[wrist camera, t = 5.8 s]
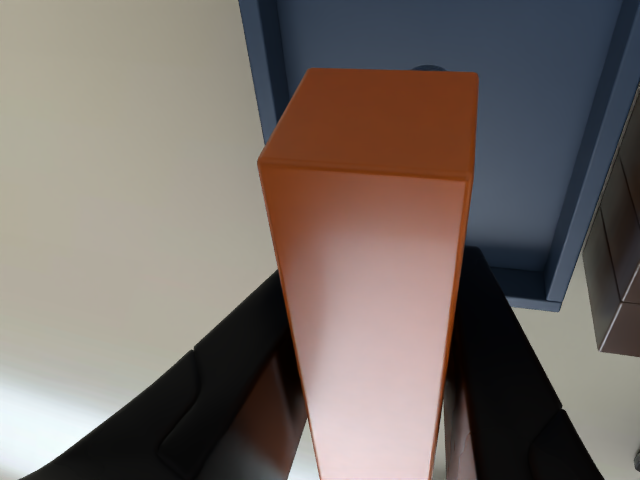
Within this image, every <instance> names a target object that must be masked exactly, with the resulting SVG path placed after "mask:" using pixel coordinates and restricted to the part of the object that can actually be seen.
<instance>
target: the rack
mask: <svg viewBox="0 0 640 480" xmlns="http://www.w3.org/2000/svg"><path fill="white" fill-rule="evenodd" d="M600 205H601V206H600V207H599V210H598V213H597V216H596V218H595V221H594V224H593V227H592V230H591V233H590V235H589V238H588V241H587V244H586V247H585V249H584V252H583V255H582V256H583V262H584V268H585V274H586V280H587V287H588V293H589V299H590V305H591V311H592V317H593V324H594V330H595V336H596V342H597V348H598V351H600V352H606V353H613V354H620V355H628V356H635V357H640V93H639V96H638V99H637V102H636V105H635V107H634V110H633V113H632V116H631V119H630V122H629V124H628V127H627V130H626V133H625V136H624V138H623V141H622V144H621V147H620V150H619V154H618V156H617V159H616V162H615V164H614V167H613V170H612V173H611V176H610V179H609V181H608V184H607V187H606V190H605V193H604V195H603V198H602V201H601V204H600Z"/></svg>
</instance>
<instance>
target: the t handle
mask: <svg viewBox="0 0 640 480" xmlns="http://www.w3.org/2000/svg"><path fill="white" fill-rule="evenodd" d="M478 89H479V77H478V74H477V73H474V72H455V71H447V70H445V69H443V68H441V67H439V66H435V65H422V66H418V67H415V68H413V69H411V70H380V69H342V68H310V69H308V70H307V71H306V73H305V75H304V76H303V78H302V80H301V82H300V84H299V85H298V87H297V89H296V91H295V93H294V94H293V96H292V98H291V100H290V102H289V103H288V105H287V107H286V109H285V111H284V112H283V114H282V116H281V118H280V120H279V122H278V123H277V125H276V127H275V129H274V131H273V132H272V134H271V136H270V138H269V140H268V141H267V143H266V145H265V147H264V149H263V150H262V152H261V154H260V156H259V158H258V161H257V166H258V171H259V176H260V181H261V186H262V191H263V196H264V201H265V206H266V211H267V216H268V221H269V226H270V231H271V236H272V241H273V246H274V251H275V256H276V261H277V266H278V271H279V276H280V281H281V286H282V291H283V296H284V301H285V306H286V311H287V316H288V321H289V326H290V331H291V336H292V342H293V347H294V352H295V357H296V362H297V367H298V372H299V377H300V382H301V387H302V392H303V397H304V402H305V407H306V412H307V417H308V422H309V427H310V432H311V437H312V442H313V447H314V452H315V457H316V462H317V467H318V472H319V477H320V480H432V476H433V469H434V461H435V454H436V447H437V440H438V433H439V425H440V418H441V411H442V404H443V396H444V389H445V382H446V375H447V368H448V360H449V353H450V346H451V339H452V332H453V324H454V317H455V310H456V303H457V296H458V288H459V281H460V274H461V267H462V260H463V252H464V245H465V238H466V231H467V224H468V216H469V209H470V202H471V195H472V187H473V180H474V166H475V146H476V127H477V108H478Z"/></svg>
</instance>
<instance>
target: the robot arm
mask: <svg viewBox="0 0 640 480" xmlns="http://www.w3.org/2000/svg"><path fill="white" fill-rule="evenodd" d="M443 400H444V426H445V452H446V478H447V480H605V479H604V478H603V476H602V475H601V473H600V472H599V470H598V469H597V467H596V465H595V464H594V462H593V460H592V458H591V457H590V455H589V453H588V451H587V450H586V448H585V446H584V444H583V442H582V441H581V439H580V437H579V435H578V434H577V432H576V430H575V428H574V426H573V424H572V422H571V420H570V418H569V417H568V415H567V413H566V411H565V410H564V409H562V404H561V402H560V400H559V398H558V396H557V394H556V392H555V390H554V388H553V387H552V385H551V383H550V381H549V379H548V377H547V375H546V373H545V371H544V369H543V367H542V366H541V364H540V362H539V360H538V358H537V356H536V354H535V352H534V350H533V348H532V346H531V345H530V343H529V341H528V339H527V337H526V335H525V333H524V331H523V329H522V327H521V326H520V324H519V322H518V320H517V318H516V316H515V314H514V312H513V310H512V308H511V306H510V305H509V303H508V301H507V299H506V297H505V295H504V293H503V291H502V289H501V287H500V285H499V284H498V282H497V280H496V278H495V276H494V274H493V272H492V270H491V268H490V266H489V265H488V263H487V261H486V259H485V257H484V255H483V253H482V251H481V250H480V248H479V247H477V246H469V245H464V252H463V260H462V267H461V274H460V281H459V288H458V296H457V303H456V310H455V317H454V324H453V332H452V339H451V346H450V353H449V360H448V368H447V375H446V382H445V389H444V396H443ZM306 420H307V412H306V407H305V402H304V397H303V392H302V387H301V382H300V377H299V372H298V367H297V362H296V357H295V352H294V347H293V342H292V336H291V331H290V326H289V321H288V316H287V311H286V306H285V301H284V296H283V291H282V286H281V281H280V276H279V271H278V269H277V270H276V271H275V272H274V273H273V274H272V275H271V276H270V277H269V278H268V279H267V280H265V281H264V282H263V283H262V284H261V285H260V286H259V287H258V288H257V289H256V290H255V291H254V292H253V293H251V294H250V295H249V296H248V297H247V298H246V299H245V300H244V301H243V302H242V303H241V304H240V305H238V306H237V307H236V308H235V309H234V310H233V311H232V312H231V313H230V314H229V315H228V316H227V317H226V318H224V319H223V320H222V321H221V322H220V323H219V324H218V325H217V326H216V327H215V328H214V329H213V330H211V331H210V332H209V333H208V334H207V335H206V336H205V337H204V338H203V339H202V340H201V341H200V342H199V343H197V344H196V345H195V346H194V350H190V351H189V352H187V353H186V354H185V355H184V356H183V357H182V358H181V359H180V360H179V361H178V362H177V363H176V364H174V365H173V366H172V367H171V368H170V369H169V370H168V371H166V372H165V373H164V374H163V375H162V376H161V377H160V378H159V379H157V380H156V381H155V382H154V383H153V384H152V385H150V386H149V387H148V388H147V389H145V390H144V391H143V392H142V393H140V394H139V395H138V396H137V397H135V398H134V399H133V400H132V401H130V402H129V403H128V404H127V405H125V406H124V407H123V408H121V409H120V410H119V411H118V412H116V413H115V414H114V415H112V416H111V417H110V418H108V419H107V420H106V421H104V422H103V423H102V424H100V425H99V426H98V427H97V428H95V429H94V430H93V431H91V432H90V433H89V434H87V435H86V436H85V437H83V438H82V439H81V440H80V441H78V442H77V443H76V444H74V445H73V446H72V447H70V448H69V449H68V450H66V451H65V452H64V453H62V454H61V455H60V456H58V457H57V458H56V459H54V460H53V461H51V462H50V463H48V464H47V465H45V466H43V467H42V468H40V469H39V470H37V471H35V472H33V473H31V474H29V475H27V476H25V477H23V478H21V479H19V480H287V479H288V475H289V472H290V469H291V466H292V463H293V460H294V457H295V454H296V451H297V448H298V445H299V442H300V438H301V435H302V432H303V429H304V426H305V423H306ZM634 465H635V469H636V470H637V471H639V472H640V452H639V453H638V455H637V456H636V457H635V459H634Z"/></svg>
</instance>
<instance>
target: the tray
mask: <svg viewBox="0 0 640 480" xmlns="http://www.w3.org/2000/svg"><path fill="white" fill-rule="evenodd" d="M238 1H239V6H240V12H241V17H242V23H243V28H244V34H245V39H246V45H247V50H248V56H249V61H250V67H251V72H252V77H253V83H254V88H255V94H256V99H257V105H258V110H259V116H260V121H261V127H262V132H263V138H264V143H265V145H266V143H267V141H268V140H269V138H270V136H271V134H272V132H273V131H274V129H275V127H276V125H277V123H278V122H279V120H280V118H281V116H282V114H283V112H284V111H285V109H286V107H287V105H288V103H289V102H290V100H291V98H292V96H293V94H294V93H295V91H296V89H297V87H298V85H299V84H300V82H301V80H302V78H303V76H304V75H305V73H306V71H307V70H308V69H310V68H342V69H380V70H411V69H413V68H415V67H418V66H422V65H435V66H439V67H441V68H443V69H445V70H447V71H455V72H474V73H477V74H478V77H479V89H478V108H477V127H476V146H475V166H474V180H473V187H472V195H471V202H470V209H469V216H468V224H467V231H466V238H465V245H469V246H477V247H479V248H480V250H481V251H482V253H483V255H484V257H485V259H486V261H487V263H488V265H489V266H490V268H491V270H492V272H493V274H494V276H495V278H496V280H497V282H498V284H499V285H500V287H501V289H502V291H503V293H504V295H505V297H506V299H507V301H508V303H509V305H510V306H511V307H518V308H526V309H535V310H543V311H551V312H559V311H560V308H561V305H562V301H563V300H564V297H565V294H566V291H567V288H568V285H569V282H570V279H571V277H572V274H573V271H574V268H575V265H576V262H577V259H578V257H579V254H580V251H581V248H582V245H583V242H584V239H585V236H586V234H587V231H588V228H589V225H590V222H591V219H592V216H593V213H594V211H595V208H596V205H597V202H598V199H599V196H600V193H601V190H602V188H603V185H604V182H605V179H606V176H607V173H608V170H609V168H610V165H611V162H612V159H613V156H614V153H615V150H616V147H617V145H618V142H619V139H620V136H621V133H622V130H623V127H624V124H625V122H626V119H627V116H628V113H629V110H630V107H631V104H632V102H633V99H634V96H635V93H636V90H637V87H638V84H639V81H640V0H238Z"/></svg>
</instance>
